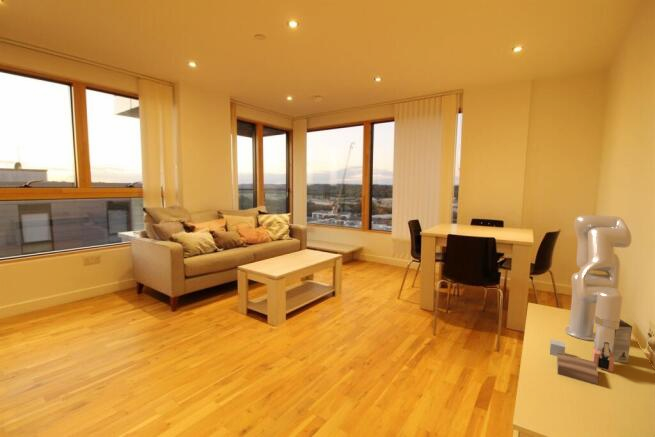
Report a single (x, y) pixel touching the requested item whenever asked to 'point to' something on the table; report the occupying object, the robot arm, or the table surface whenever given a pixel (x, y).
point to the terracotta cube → (596, 358)
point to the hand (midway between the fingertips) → (602, 363)
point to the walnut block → (577, 368)
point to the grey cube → (557, 347)
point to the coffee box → (622, 342)
